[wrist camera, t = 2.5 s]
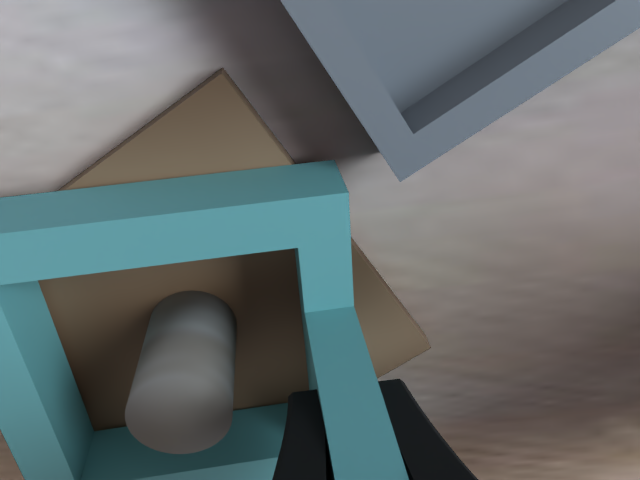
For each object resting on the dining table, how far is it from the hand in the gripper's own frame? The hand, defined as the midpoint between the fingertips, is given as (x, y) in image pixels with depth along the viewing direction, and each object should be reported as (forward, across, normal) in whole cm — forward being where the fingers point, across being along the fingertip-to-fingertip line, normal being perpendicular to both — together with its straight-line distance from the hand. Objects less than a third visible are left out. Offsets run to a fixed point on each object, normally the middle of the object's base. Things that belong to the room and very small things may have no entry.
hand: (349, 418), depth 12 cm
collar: (+4, +4, 0) cm, 6 cm away
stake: (+5, +4, 0) cm, 6 cm away
